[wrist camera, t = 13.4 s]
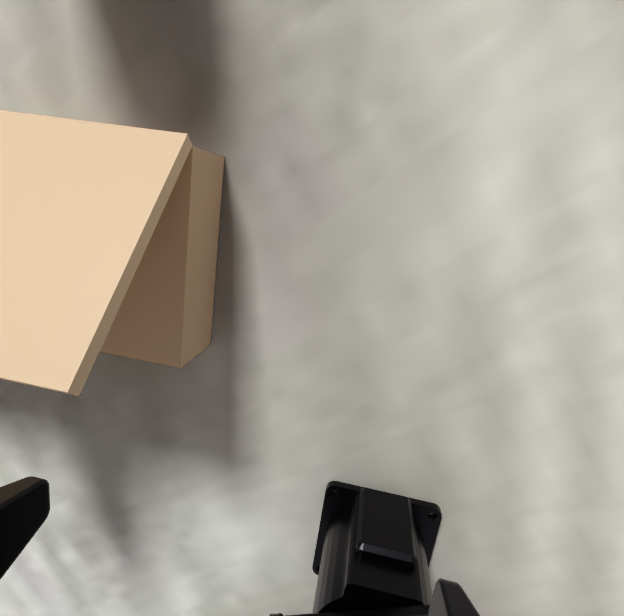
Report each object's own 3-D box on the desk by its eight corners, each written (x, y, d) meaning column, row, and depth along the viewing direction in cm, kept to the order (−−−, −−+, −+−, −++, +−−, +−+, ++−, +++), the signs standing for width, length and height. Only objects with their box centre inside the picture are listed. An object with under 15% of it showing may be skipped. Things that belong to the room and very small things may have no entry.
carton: (210, 344, 22) (180, 368, 19) (-66, 291, 24) (-136, 304, 21) (224, 157, 20) (192, 145, 16) (-85, 116, 22) (-170, 99, 18)
